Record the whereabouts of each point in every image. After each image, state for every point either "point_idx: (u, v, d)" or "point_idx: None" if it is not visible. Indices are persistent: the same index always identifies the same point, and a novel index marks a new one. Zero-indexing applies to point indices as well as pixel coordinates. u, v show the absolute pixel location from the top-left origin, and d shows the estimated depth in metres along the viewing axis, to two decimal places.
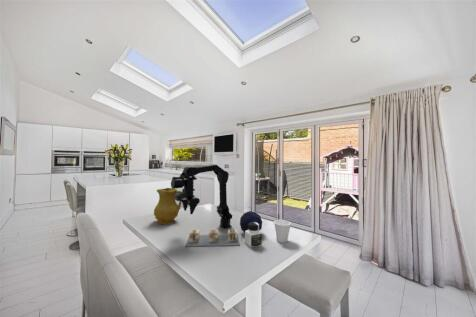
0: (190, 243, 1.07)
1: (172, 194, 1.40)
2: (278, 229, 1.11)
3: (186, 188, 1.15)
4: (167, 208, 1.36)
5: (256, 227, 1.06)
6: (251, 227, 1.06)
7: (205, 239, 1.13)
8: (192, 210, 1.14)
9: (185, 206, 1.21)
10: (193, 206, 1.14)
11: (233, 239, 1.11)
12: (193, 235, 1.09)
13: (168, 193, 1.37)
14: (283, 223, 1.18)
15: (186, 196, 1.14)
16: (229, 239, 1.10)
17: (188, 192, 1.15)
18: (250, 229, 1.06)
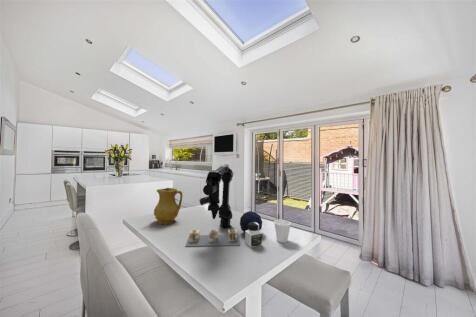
0: (190, 243, 1.07)
1: (172, 194, 1.40)
2: (278, 229, 1.11)
3: None
4: (167, 208, 1.36)
5: (256, 227, 1.06)
6: (251, 227, 1.06)
7: (205, 239, 1.13)
8: (214, 215, 1.10)
9: None
10: (215, 211, 1.10)
11: (233, 239, 1.11)
12: (193, 235, 1.09)
13: (168, 193, 1.37)
14: (283, 223, 1.18)
15: (209, 201, 1.09)
16: (229, 239, 1.10)
17: (212, 197, 1.09)
18: (250, 229, 1.06)
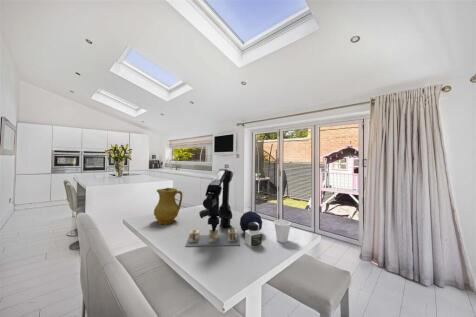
0: (190, 243, 1.07)
1: (172, 194, 1.40)
2: (278, 229, 1.11)
3: None
4: (167, 208, 1.36)
5: (256, 227, 1.06)
6: (251, 227, 1.06)
7: (205, 239, 1.13)
8: (214, 227, 1.11)
9: None
10: (214, 223, 1.11)
11: (233, 239, 1.11)
12: (193, 235, 1.09)
13: (168, 193, 1.37)
14: (283, 223, 1.18)
15: (209, 214, 1.09)
16: (229, 239, 1.10)
17: (211, 210, 1.09)
18: (250, 229, 1.06)
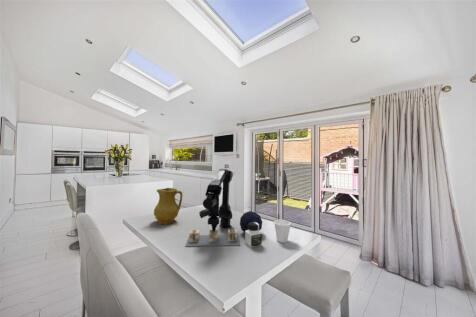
0: (190, 243, 1.07)
1: (172, 194, 1.40)
2: (278, 229, 1.11)
3: None
4: (167, 208, 1.36)
5: (256, 227, 1.06)
6: (251, 227, 1.06)
7: (205, 239, 1.13)
8: (214, 227, 1.11)
9: None
10: (214, 223, 1.11)
11: (233, 239, 1.11)
12: (193, 235, 1.09)
13: (168, 193, 1.37)
14: (283, 223, 1.18)
15: (209, 214, 1.09)
16: (229, 239, 1.10)
17: (211, 210, 1.09)
18: (250, 229, 1.06)
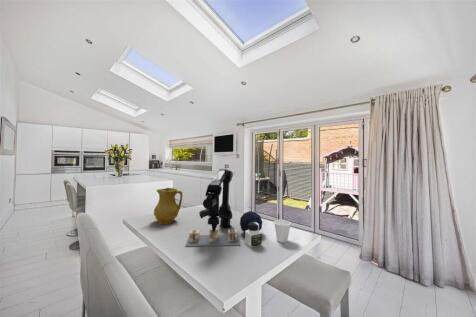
0: (190, 243, 1.07)
1: (172, 194, 1.40)
2: (278, 229, 1.11)
3: None
4: (167, 208, 1.36)
5: (256, 227, 1.06)
6: (251, 227, 1.06)
7: (205, 239, 1.13)
8: (214, 227, 1.11)
9: None
10: (214, 223, 1.11)
11: (233, 239, 1.11)
12: (193, 235, 1.09)
13: (168, 193, 1.37)
14: (283, 223, 1.18)
15: (209, 214, 1.09)
16: (229, 239, 1.10)
17: (211, 210, 1.09)
18: (250, 229, 1.06)
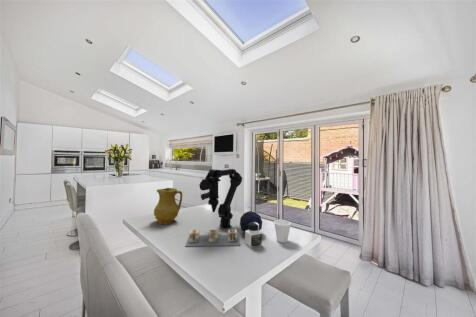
0: (190, 243, 1.07)
1: (172, 194, 1.40)
2: (278, 229, 1.11)
3: (210, 189, 1.23)
4: (167, 208, 1.36)
5: (256, 227, 1.06)
6: (251, 227, 1.06)
7: (205, 239, 1.13)
8: (213, 208, 1.24)
9: None
10: (214, 205, 1.24)
11: (233, 239, 1.11)
12: (193, 235, 1.09)
13: (168, 193, 1.37)
14: (283, 223, 1.18)
15: (209, 196, 1.22)
16: (229, 239, 1.10)
17: (211, 193, 1.23)
18: (250, 229, 1.06)
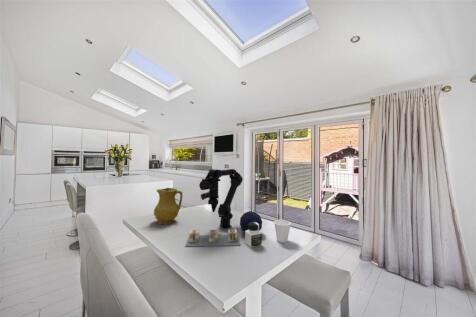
0: (190, 243, 1.07)
1: (172, 194, 1.40)
2: (278, 229, 1.11)
3: (210, 189, 1.24)
4: (167, 208, 1.36)
5: (256, 227, 1.06)
6: (251, 227, 1.06)
7: (205, 239, 1.13)
8: (213, 208, 1.25)
9: None
10: (214, 205, 1.24)
11: (233, 239, 1.11)
12: (193, 235, 1.09)
13: (168, 193, 1.37)
14: (283, 223, 1.18)
15: (209, 196, 1.23)
16: (229, 239, 1.10)
17: (211, 193, 1.23)
18: (250, 229, 1.06)
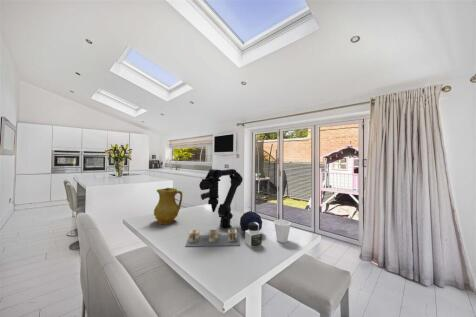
0: (190, 243, 1.07)
1: (172, 194, 1.40)
2: (278, 229, 1.11)
3: (210, 189, 1.24)
4: (167, 208, 1.36)
5: (256, 227, 1.06)
6: (251, 227, 1.06)
7: (205, 239, 1.13)
8: (213, 208, 1.25)
9: None
10: (214, 205, 1.24)
11: (233, 239, 1.11)
12: (193, 235, 1.09)
13: (168, 193, 1.37)
14: (283, 223, 1.18)
15: (209, 196, 1.23)
16: (229, 239, 1.10)
17: (211, 193, 1.23)
18: (250, 229, 1.06)
